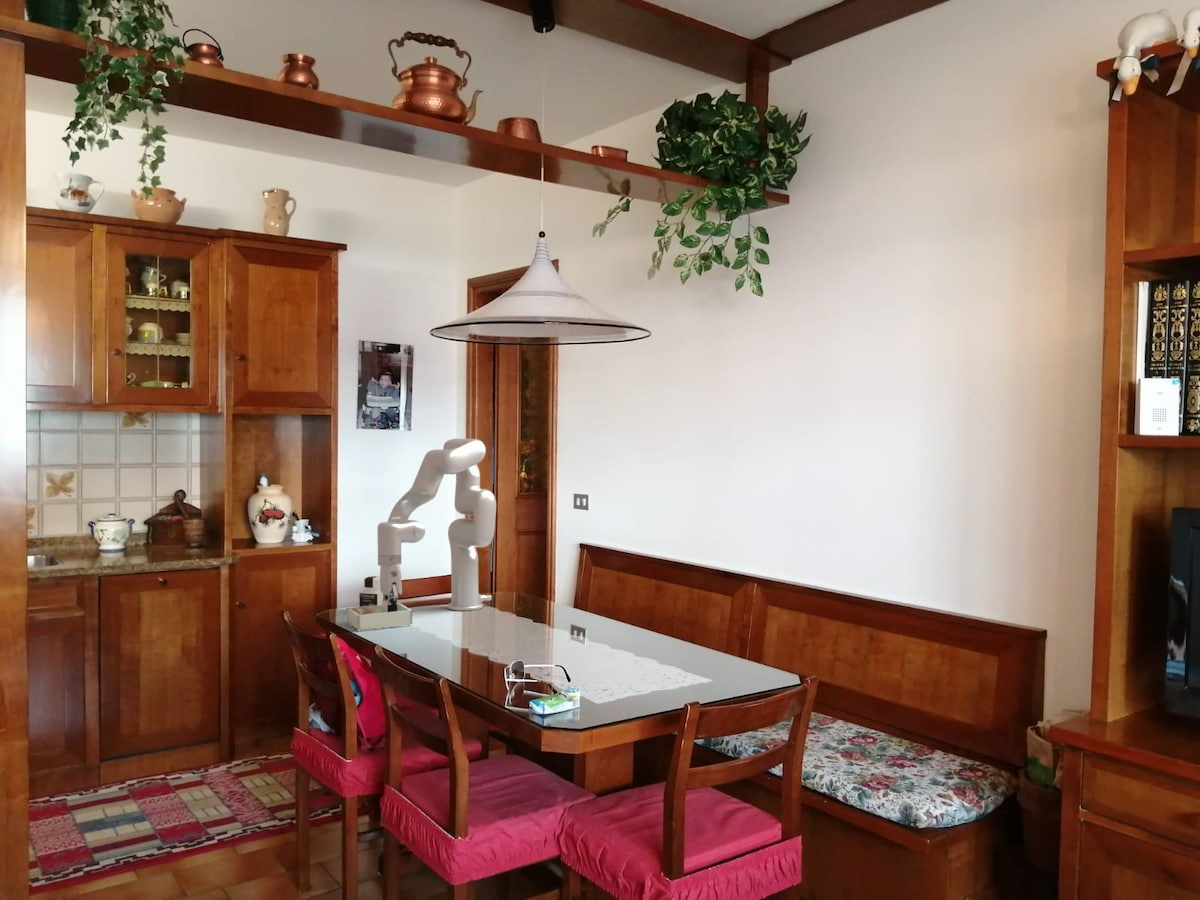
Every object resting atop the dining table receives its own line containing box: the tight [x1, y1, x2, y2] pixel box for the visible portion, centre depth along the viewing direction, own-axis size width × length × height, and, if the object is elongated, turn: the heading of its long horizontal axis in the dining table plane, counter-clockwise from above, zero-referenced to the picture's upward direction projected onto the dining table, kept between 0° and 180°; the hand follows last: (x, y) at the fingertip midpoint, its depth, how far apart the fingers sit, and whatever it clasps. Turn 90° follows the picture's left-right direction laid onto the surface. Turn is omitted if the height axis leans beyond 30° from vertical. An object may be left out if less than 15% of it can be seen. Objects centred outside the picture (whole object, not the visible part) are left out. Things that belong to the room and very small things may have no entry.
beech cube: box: [356, 606, 375, 615], centre depth 297 cm, size 5×5×5 cm
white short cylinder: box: [382, 599, 399, 613], centre depth 301 cm, size 5×5×6 cm
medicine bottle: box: [358, 575, 383, 607], centre depth 321 cm, size 7×7×12 cm
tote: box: [346, 602, 413, 632], centre depth 299 cm, size 17×14×5 cm
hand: (390, 614), depth 301 cm, fingers closed on white short cylinder, 4 cm apart
